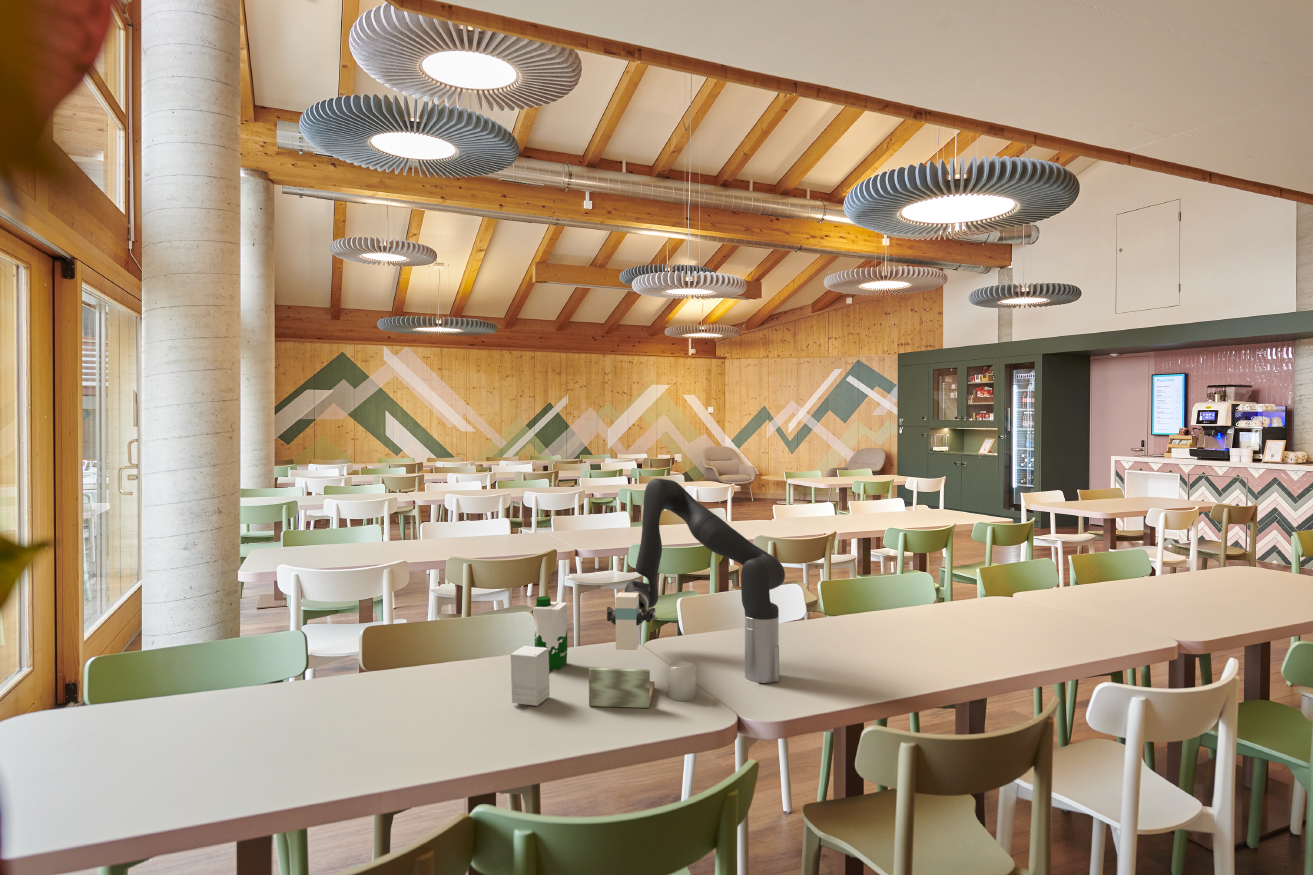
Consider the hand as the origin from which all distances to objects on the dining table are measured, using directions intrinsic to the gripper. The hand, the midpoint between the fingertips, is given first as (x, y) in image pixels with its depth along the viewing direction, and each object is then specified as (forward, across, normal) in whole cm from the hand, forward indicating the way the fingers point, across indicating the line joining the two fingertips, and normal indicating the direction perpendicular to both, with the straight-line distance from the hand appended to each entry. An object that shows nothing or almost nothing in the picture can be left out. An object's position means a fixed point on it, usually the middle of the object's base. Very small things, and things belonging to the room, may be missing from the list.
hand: (626, 621), depth 205 cm
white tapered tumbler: (+5, +15, +18) cm, 24 cm away
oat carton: (-3, 0, +8) cm, 8 cm away
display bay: (+7, 0, +18) cm, 19 cm away
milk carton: (-16, -24, +18) cm, 34 cm away
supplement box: (+11, -23, +18) cm, 31 cm away
